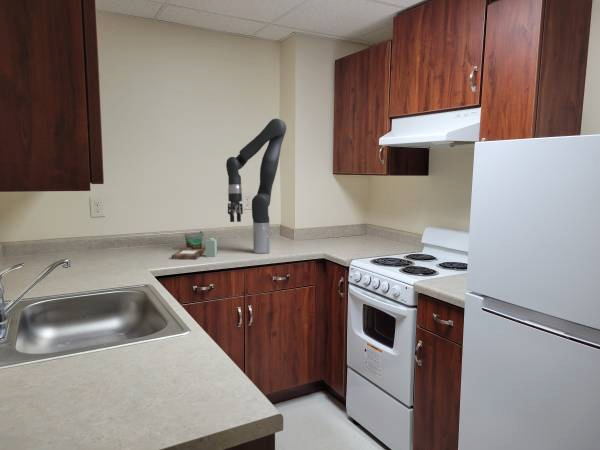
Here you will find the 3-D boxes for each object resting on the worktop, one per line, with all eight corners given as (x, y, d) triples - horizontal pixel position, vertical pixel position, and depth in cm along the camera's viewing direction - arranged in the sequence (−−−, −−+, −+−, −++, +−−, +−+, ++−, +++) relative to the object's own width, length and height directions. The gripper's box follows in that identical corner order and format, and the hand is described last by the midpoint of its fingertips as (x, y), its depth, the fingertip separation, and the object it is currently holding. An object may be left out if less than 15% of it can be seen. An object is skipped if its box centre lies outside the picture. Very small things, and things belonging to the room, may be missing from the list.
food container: (191, 251, 257) (191, 234, 256) (184, 250, 261) (184, 233, 259) (208, 248, 267) (207, 231, 265) (201, 247, 270) (200, 230, 269)
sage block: (217, 255, 248) (216, 237, 246) (214, 257, 243) (214, 239, 241) (208, 255, 248) (207, 237, 247) (205, 257, 243) (205, 239, 242)
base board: (204, 252, 254) (204, 248, 254) (196, 259, 237) (196, 255, 236) (181, 252, 255) (181, 248, 255) (171, 259, 237) (171, 255, 237)
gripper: (235, 192, 244) (236, 221, 244) (246, 193, 258) (247, 221, 258) (223, 192, 247) (223, 222, 247) (234, 193, 260) (235, 221, 260)
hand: (235, 221), depth 252 cm, fingers open, 8 cm apart
